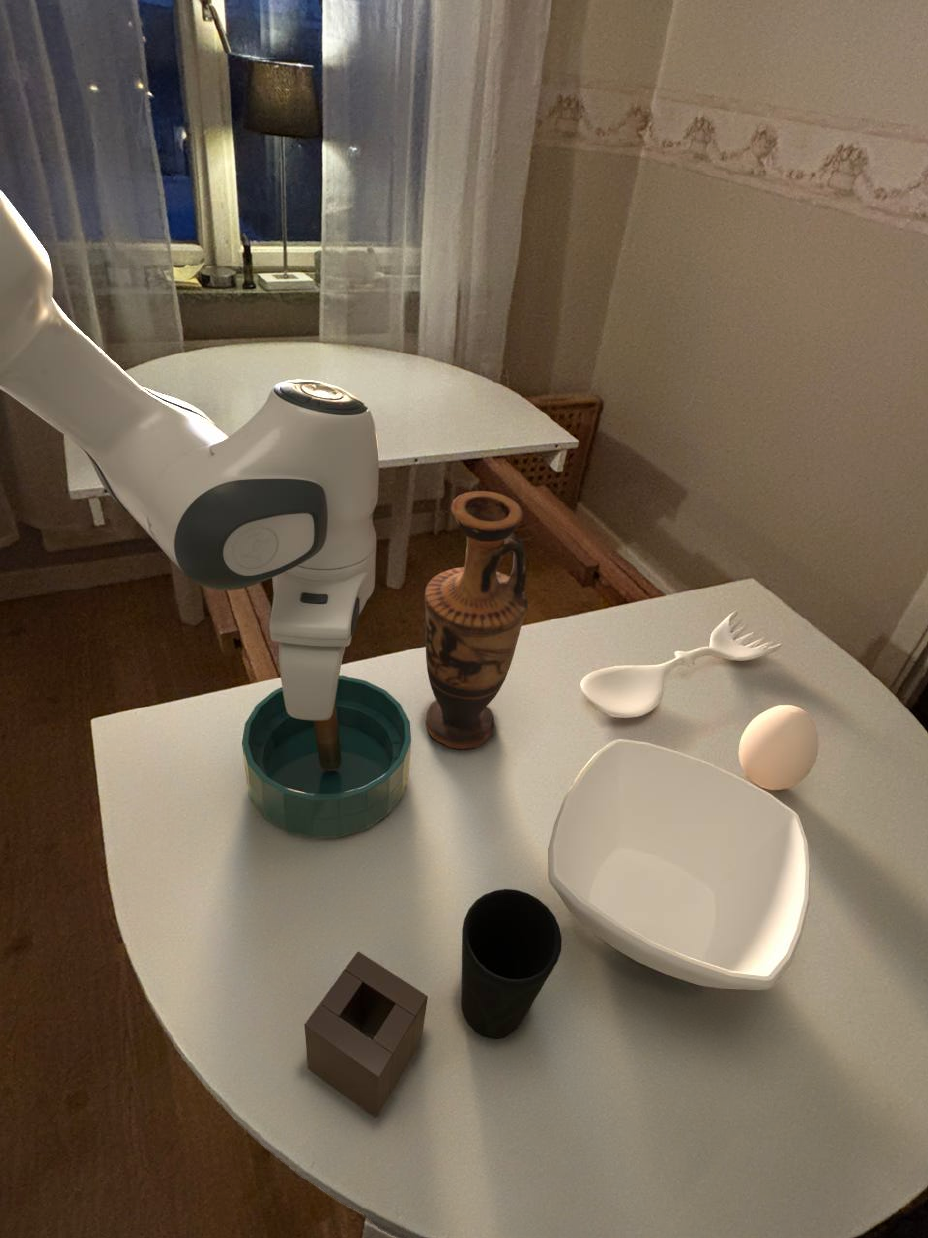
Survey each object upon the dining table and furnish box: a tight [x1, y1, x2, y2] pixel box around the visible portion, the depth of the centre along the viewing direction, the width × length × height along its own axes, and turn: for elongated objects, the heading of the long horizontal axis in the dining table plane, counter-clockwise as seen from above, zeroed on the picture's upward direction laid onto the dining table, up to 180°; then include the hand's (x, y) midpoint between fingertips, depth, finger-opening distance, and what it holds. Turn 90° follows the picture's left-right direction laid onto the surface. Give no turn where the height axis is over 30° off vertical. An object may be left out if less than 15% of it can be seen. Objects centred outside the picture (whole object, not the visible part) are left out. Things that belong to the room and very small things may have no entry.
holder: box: [304, 950, 429, 1119], centre depth 57 cm, size 7×7×8 cm
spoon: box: [579, 610, 783, 719], centre depth 99 cm, size 9×32×4 cm, turn 122°
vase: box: [424, 490, 529, 750], centre depth 80 cm, size 11×11×30 cm
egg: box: [738, 704, 819, 791], centre depth 84 cm, size 8×8×11 cm
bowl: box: [547, 738, 811, 991], centre depth 69 cm, size 22×22×12 cm
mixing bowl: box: [241, 675, 412, 839], centre depth 79 cm, size 17×17×7 cm
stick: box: [314, 701, 342, 772], centre depth 75 cm, size 2×2×18 cm
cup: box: [460, 888, 563, 1040], centre depth 60 cm, size 8×8×12 cm
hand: (326, 683), depth 73 cm, fingers closed on stick, 2 cm apart
